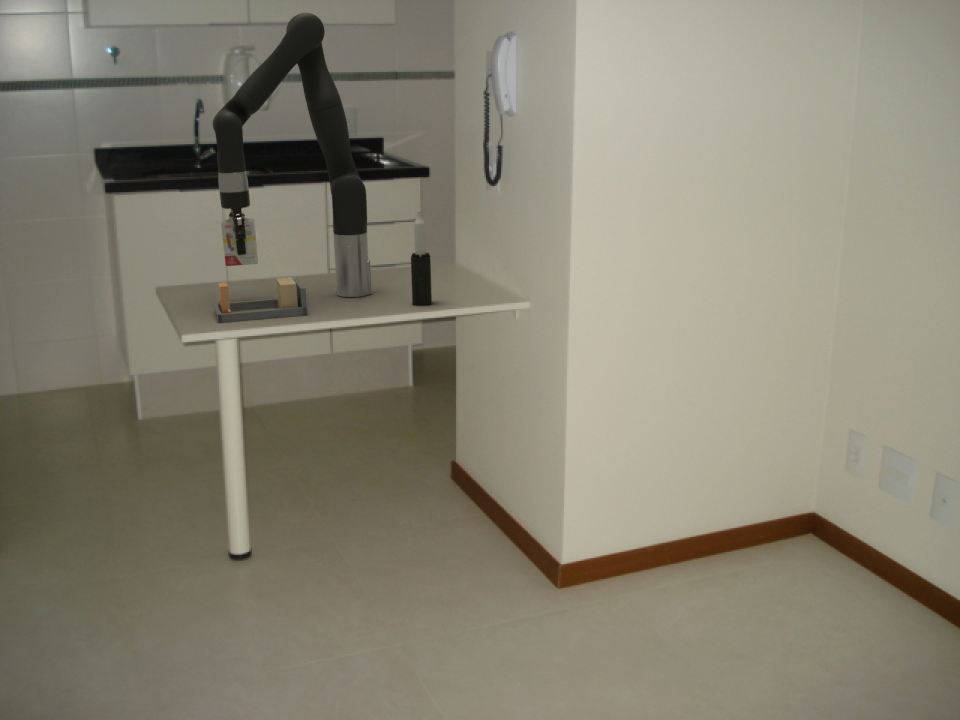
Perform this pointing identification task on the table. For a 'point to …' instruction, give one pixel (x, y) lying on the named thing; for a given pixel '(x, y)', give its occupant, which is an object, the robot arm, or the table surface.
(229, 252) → the ink box
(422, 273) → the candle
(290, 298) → the kraft carton
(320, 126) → the robot arm
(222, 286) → the pusher
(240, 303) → the grey shallow tray
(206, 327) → the table surface
